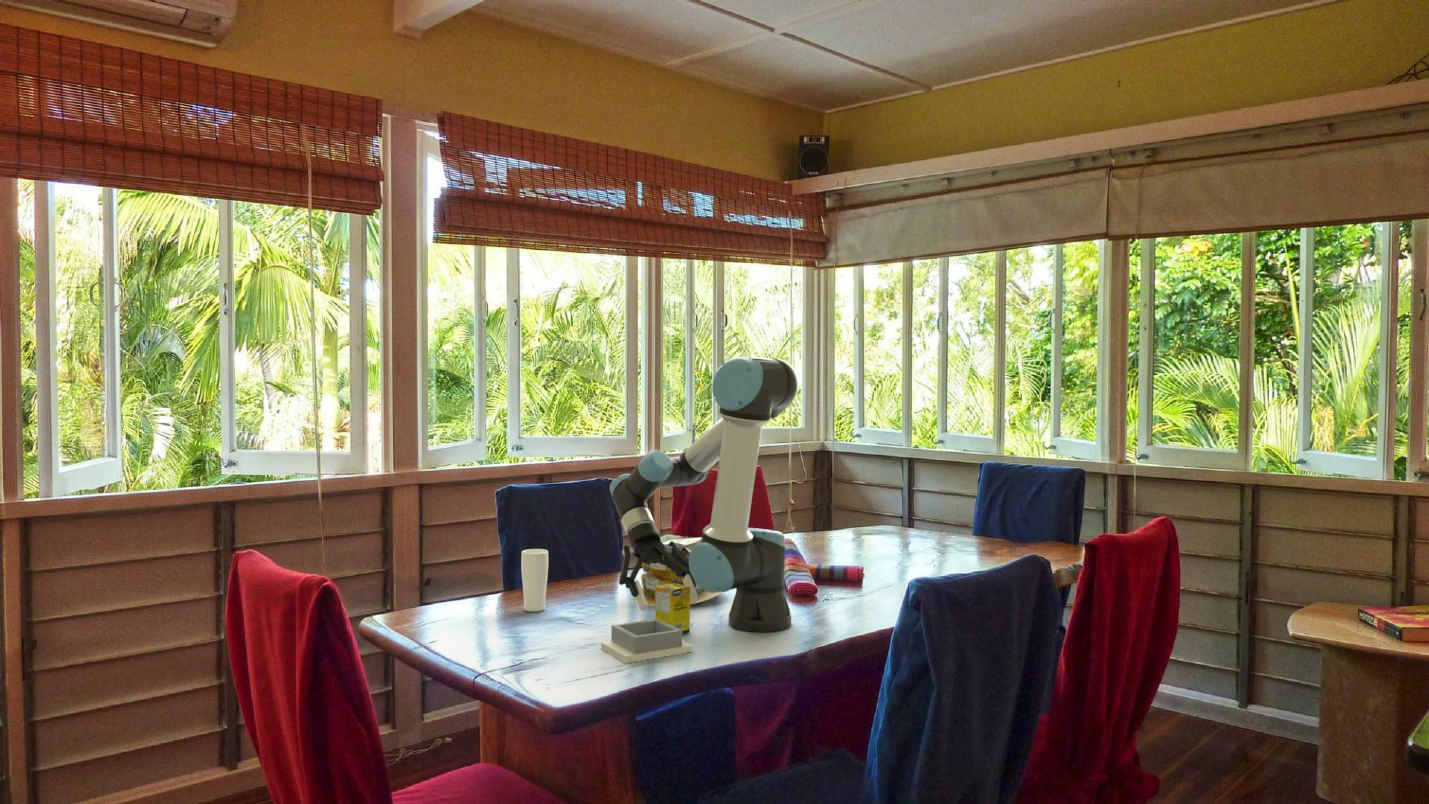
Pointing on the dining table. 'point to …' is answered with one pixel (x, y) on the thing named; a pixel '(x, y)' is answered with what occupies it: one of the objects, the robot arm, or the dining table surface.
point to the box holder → (645, 641)
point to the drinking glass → (534, 578)
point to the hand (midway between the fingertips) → (670, 603)
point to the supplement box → (673, 605)
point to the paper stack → (670, 571)
